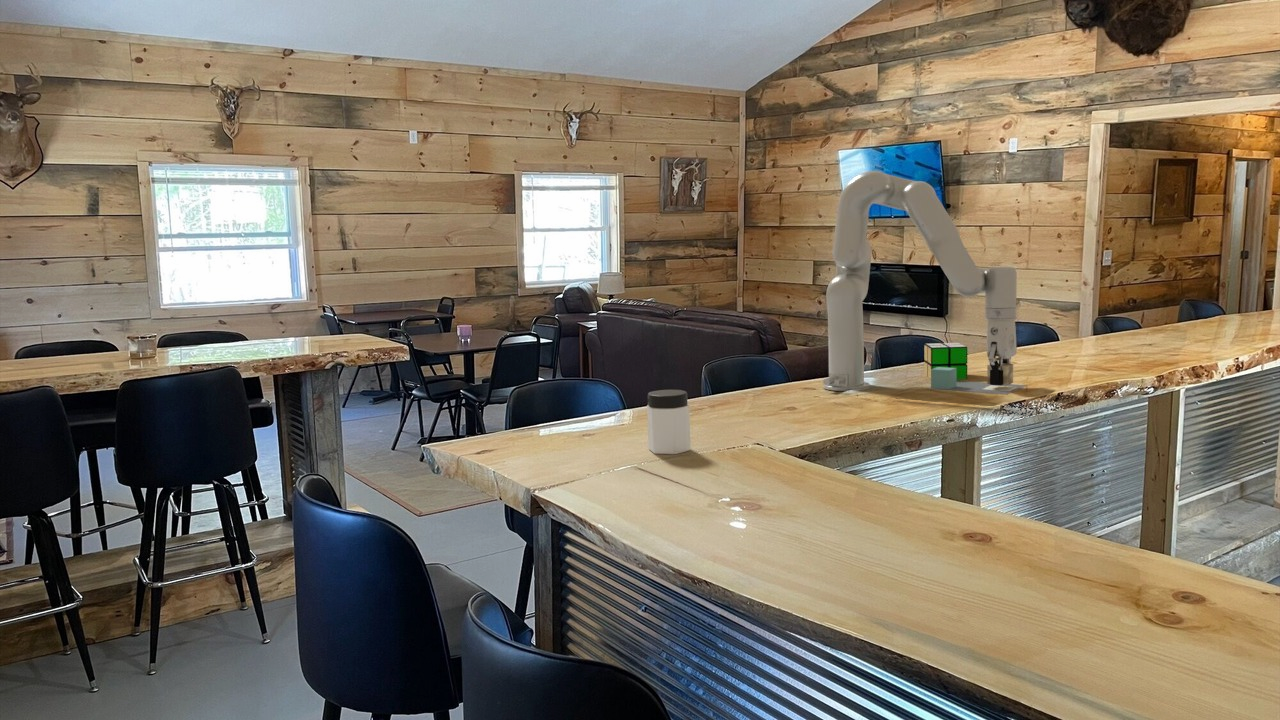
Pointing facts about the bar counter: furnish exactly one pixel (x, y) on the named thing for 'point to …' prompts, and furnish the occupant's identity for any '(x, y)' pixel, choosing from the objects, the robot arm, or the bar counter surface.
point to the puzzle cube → (946, 358)
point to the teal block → (943, 378)
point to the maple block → (1006, 373)
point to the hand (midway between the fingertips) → (1000, 382)
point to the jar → (668, 422)
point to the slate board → (983, 387)
